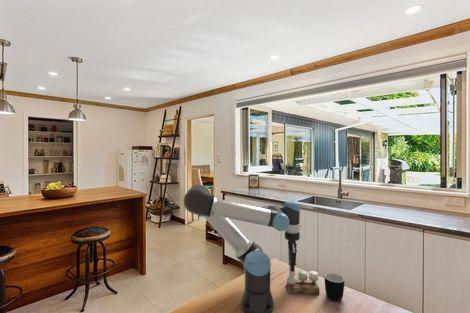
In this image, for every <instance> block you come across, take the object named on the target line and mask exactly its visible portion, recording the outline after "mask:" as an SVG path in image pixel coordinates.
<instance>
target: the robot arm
mask: <svg viewBox="0 0 470 313" xmlns="http://www.w3.org/2000/svg"><path fill="white" fill-rule="evenodd" d="M183 197H184V198H183V205H184V208H185V209H186V211H188V212H189V213H191V214H194V215H197V216H198V217H199V218H204V219H205V220H206V221H207V222H208V223H209V224H210V225H211V227H212V228H213V229H214V230H215V231H216V232H217V233H218V234H219V235H220V236H221V237H222V239H223V240H224V241H225V242H226V243H227V244H228V245H229V246H230V247H231V248H232V250H234V251H235V252H234V256H235V258H237V260H238V261H240V263H241V264H242V265H243V271H244V291H243V294H242V296H241V300H240V307H241V310H242V311H243V313H273V312H274V310H275V301H274V298H273V295H272V292H271V268H272V267H271V266H272V264H271V258H270V256H269V255H268V254H266V253H264V251H263V249H262V247H261V246H260V245H259V244H257V243H256V241H254V240H253V239H252V238H247V237H246V236H245V235H244V234H243V233H242V231H241V230H240V229H239V228H238V227H237V226H236V225H235V224H234V223H233V221H234V220H235V221H241V222H244V223H250V224H256V225H261V226H265V227H269V228H270V227H271V228H274V230H277V231H279V232H284V239H285V240H287V246H288V248H287V249H288V252H287V253H288V268H289V269H288V275H289V277H295V276H296V266H297V264H296V263H297V251H298V250H297V246H298V245H297V241H300V234H301V233H300V232H301V231H300V228H301V226H302V225H301V224H300V220H301V219H300V217H301V216H300V214H301V213H300V212H301V207H300V206H301V205H300V203H299V201H297V200H285V202H284V205H283V204H282V205H263V206H262V207H258V206H254V205H249V204H243V203H238V202H234V201H230V200H226V199H220V198H217V197H216V196H215V195H212V193H211V192H210V190H209V188H207V187H206V186H205V185H201V184H195V185H193V186H191V187H190V188H188V190H187V192H186V194H185V195H184V196H183ZM230 219H231V220H233V221H231V220H230Z"/></svg>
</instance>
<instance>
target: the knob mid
mask: <svg viewBox="0 0 470 313" xmlns="http://www.w3.org/2000/svg"><path fill="white" fill-rule="evenodd" d="M297 275H298V276H297V278H298V279H299V280H301V283H302V284H304V281H305V280H308V272H307V271H305V270H298V273H297Z"/></svg>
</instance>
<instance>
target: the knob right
mask: <svg viewBox="0 0 470 313" xmlns="http://www.w3.org/2000/svg"><path fill="white" fill-rule="evenodd" d="M308 280H312V284H315V281H316V282H318V280H319V273H318V272H317V271H315V270H309V272H308Z"/></svg>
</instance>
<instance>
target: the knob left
mask: <svg viewBox="0 0 470 313" xmlns="http://www.w3.org/2000/svg"><path fill="white" fill-rule="evenodd" d="M287 279H288V280H287ZM287 279H286V283H287V282H288V284H291V285H295V284H296V279H297V276H296V275H295V277H289V274H288V275H287Z"/></svg>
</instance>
